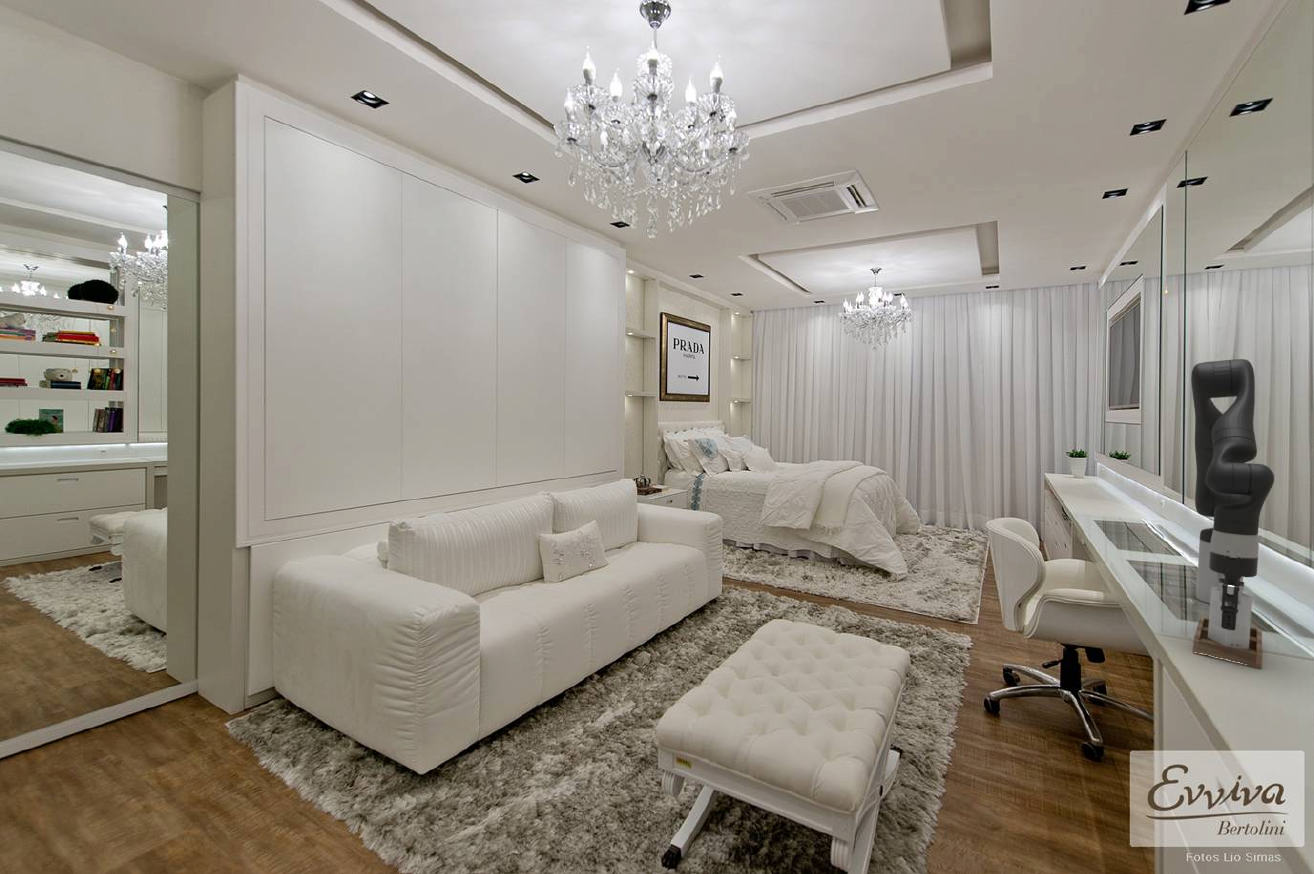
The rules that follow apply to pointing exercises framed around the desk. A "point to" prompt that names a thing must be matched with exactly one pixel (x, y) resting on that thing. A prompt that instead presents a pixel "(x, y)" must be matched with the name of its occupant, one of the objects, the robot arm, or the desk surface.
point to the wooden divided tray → (1238, 655)
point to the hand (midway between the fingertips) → (1228, 624)
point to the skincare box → (1243, 621)
